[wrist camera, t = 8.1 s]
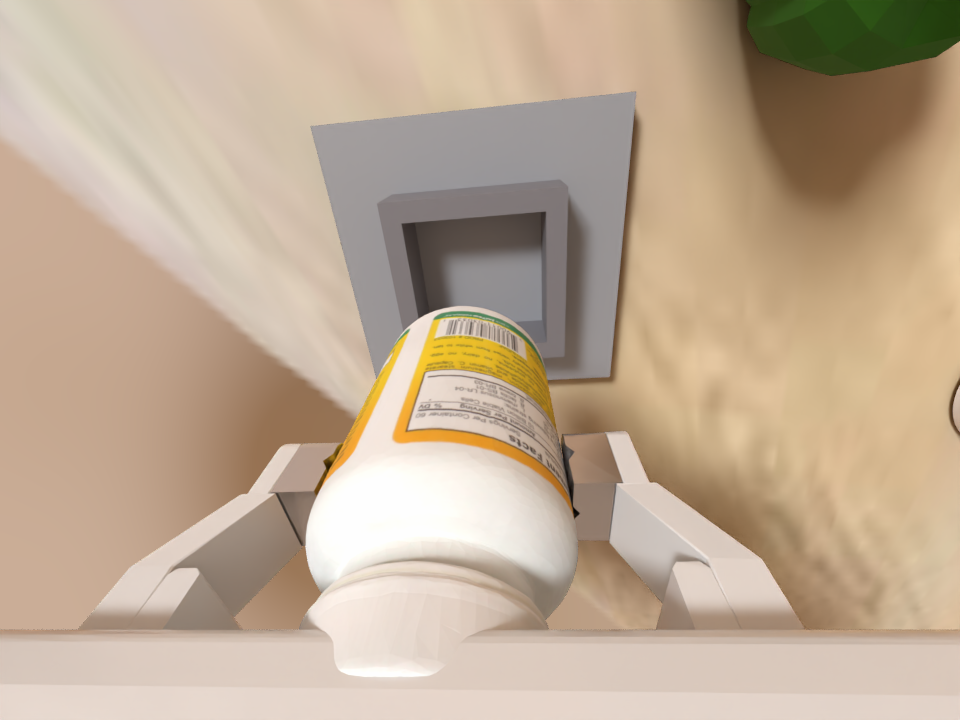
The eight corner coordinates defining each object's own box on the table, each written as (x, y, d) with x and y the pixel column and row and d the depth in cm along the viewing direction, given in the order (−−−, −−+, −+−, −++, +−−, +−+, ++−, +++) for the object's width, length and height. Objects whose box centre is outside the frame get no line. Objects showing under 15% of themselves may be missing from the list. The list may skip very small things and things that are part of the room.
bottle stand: (627, 94, 20) (657, 85, 16) (604, 365, 28) (621, 403, 24) (321, 126, 21) (281, 126, 17) (384, 376, 29) (366, 414, 25)
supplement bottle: (504, 273, 12) (523, 594, 4) (566, 404, 14) (669, 790, 6) (357, 342, 13) (119, 694, 5) (436, 452, 15) (367, 821, 7)
